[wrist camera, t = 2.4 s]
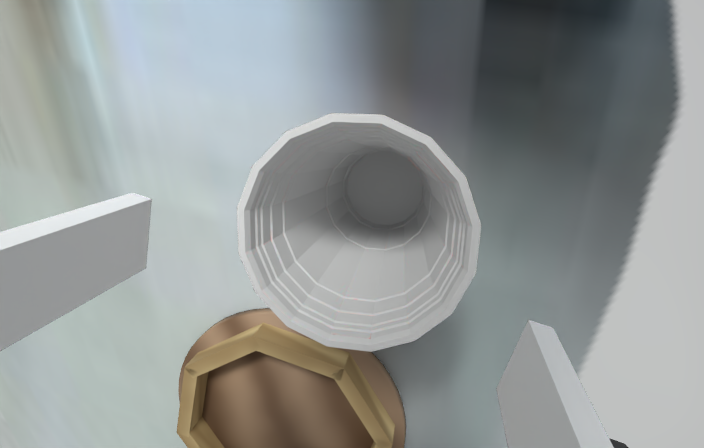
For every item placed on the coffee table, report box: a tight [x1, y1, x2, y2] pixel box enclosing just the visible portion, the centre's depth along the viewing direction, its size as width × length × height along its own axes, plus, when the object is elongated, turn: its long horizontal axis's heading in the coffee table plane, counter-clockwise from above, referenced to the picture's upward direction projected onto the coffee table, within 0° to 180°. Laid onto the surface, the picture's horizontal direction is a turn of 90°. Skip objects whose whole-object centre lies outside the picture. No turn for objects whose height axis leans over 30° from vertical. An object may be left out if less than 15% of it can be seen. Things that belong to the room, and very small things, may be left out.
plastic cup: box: [237, 113, 481, 352], centre depth 23 cm, size 11×11×12 cm
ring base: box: [177, 308, 406, 448], centre depth 35 cm, size 21×21×3 cm
